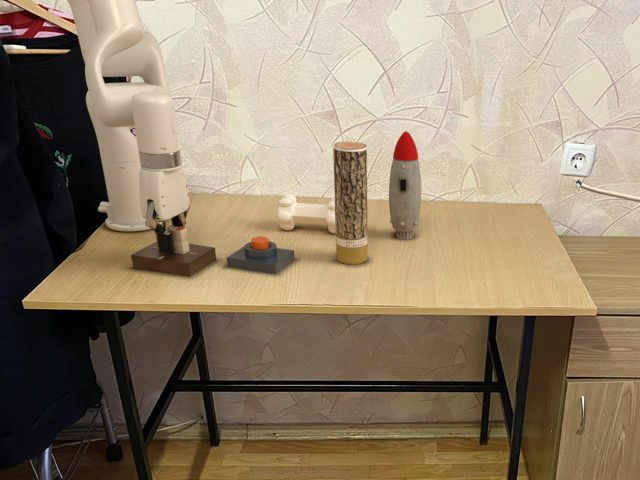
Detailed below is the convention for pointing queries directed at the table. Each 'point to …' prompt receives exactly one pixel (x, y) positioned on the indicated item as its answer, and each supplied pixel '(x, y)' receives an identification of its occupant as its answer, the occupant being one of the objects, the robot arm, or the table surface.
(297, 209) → the dog bone
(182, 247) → the beige block
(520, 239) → the table surface
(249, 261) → the button box
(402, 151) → the toy rocket
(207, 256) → the panel
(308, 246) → the table surface
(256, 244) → the button
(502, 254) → the table surface
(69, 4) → the robot arm
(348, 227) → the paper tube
